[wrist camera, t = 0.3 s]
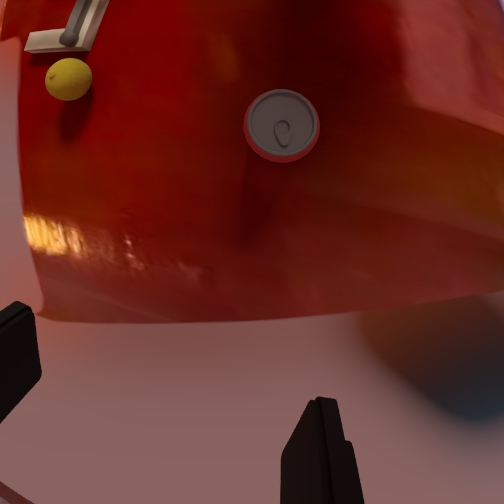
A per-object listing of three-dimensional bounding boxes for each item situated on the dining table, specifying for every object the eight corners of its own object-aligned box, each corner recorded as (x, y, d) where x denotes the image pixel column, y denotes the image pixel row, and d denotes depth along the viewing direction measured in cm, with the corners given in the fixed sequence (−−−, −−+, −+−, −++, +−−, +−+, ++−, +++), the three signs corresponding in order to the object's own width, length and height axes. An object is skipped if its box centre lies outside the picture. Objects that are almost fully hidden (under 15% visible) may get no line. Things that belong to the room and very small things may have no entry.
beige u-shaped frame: (66, -26, 28) (53, -35, 24) (126, -35, 29) (114, -47, 24) (33, 53, 33) (16, 48, 29) (89, 51, 33) (73, 44, 29)
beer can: (254, 165, 36) (245, 167, 25) (248, 110, 34) (235, 87, 23) (311, 160, 36) (328, 159, 24) (305, 105, 34) (318, 80, 22)
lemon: (96, 58, 33) (63, 43, 26) (107, 89, 34) (73, 78, 27) (65, 80, 34) (30, 70, 26) (75, 111, 35) (39, 105, 28)
